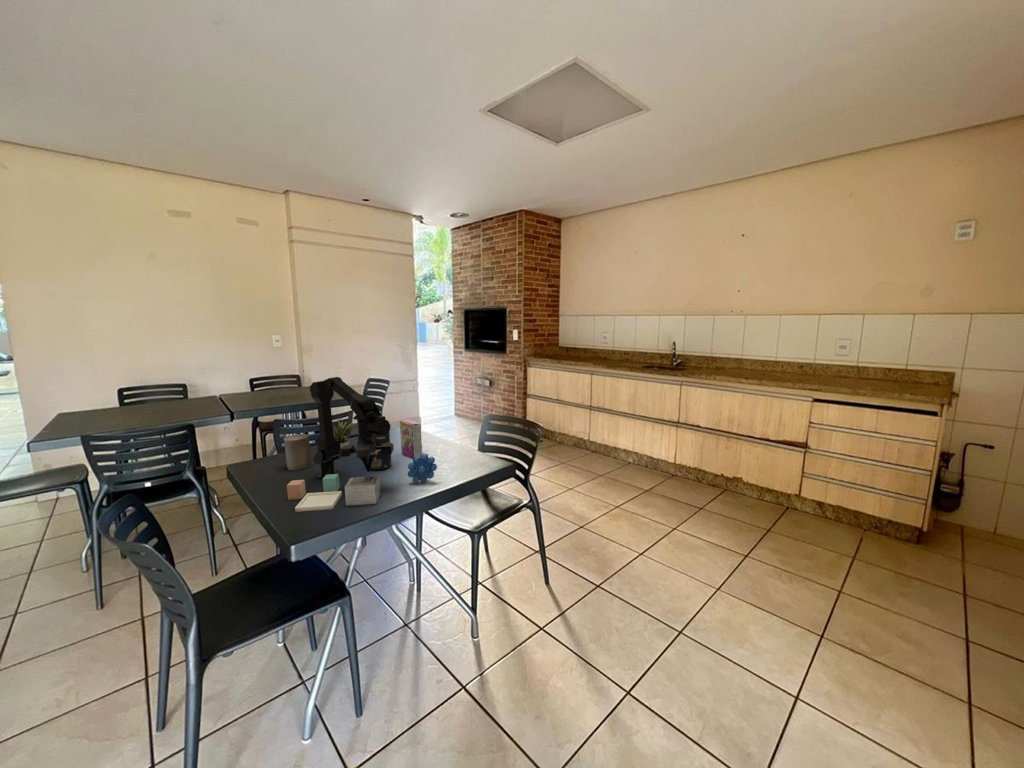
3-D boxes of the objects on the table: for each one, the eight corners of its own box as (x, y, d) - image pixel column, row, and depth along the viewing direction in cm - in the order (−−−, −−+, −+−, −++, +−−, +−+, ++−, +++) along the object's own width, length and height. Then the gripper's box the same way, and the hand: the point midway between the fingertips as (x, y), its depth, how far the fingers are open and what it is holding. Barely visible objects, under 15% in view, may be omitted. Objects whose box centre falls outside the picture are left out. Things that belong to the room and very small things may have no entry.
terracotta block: (293, 494, 152) (291, 480, 151) (305, 493, 152) (304, 479, 152) (288, 499, 147) (286, 485, 147) (301, 498, 148) (300, 484, 147)
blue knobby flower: (439, 478, 165) (438, 449, 163) (436, 485, 159) (435, 455, 157) (410, 479, 165) (408, 450, 163) (406, 485, 158) (404, 456, 156)
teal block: (327, 488, 157) (326, 474, 156) (339, 487, 158) (338, 473, 157) (323, 493, 153) (322, 479, 152) (336, 492, 153) (335, 478, 153)
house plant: (339, 461, 187) (336, 426, 184) (318, 457, 193) (315, 423, 190) (363, 452, 200) (360, 419, 197) (342, 448, 206) (339, 417, 203)
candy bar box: (400, 454, 196) (399, 420, 194) (410, 451, 200) (408, 418, 197) (413, 459, 188) (411, 424, 186) (422, 456, 192) (421, 422, 189)
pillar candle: (316, 463, 185) (312, 431, 183) (303, 470, 175) (299, 437, 173) (295, 463, 186) (292, 431, 184) (281, 470, 176) (278, 437, 174)
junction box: (352, 495, 150) (350, 476, 149) (380, 493, 151) (378, 474, 150) (346, 505, 142) (344, 485, 141) (375, 503, 143) (374, 483, 142)
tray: (307, 496, 149) (307, 493, 149) (342, 494, 151) (341, 491, 151) (295, 511, 138) (294, 508, 138) (332, 509, 139) (332, 505, 139)
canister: (388, 462, 185) (385, 423, 182) (394, 468, 177) (392, 428, 174) (366, 466, 180) (363, 426, 177) (372, 473, 172) (369, 431, 169)
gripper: (333, 439, 145) (337, 481, 147) (388, 436, 147) (390, 477, 149) (342, 430, 155) (345, 469, 158) (392, 428, 158) (395, 466, 160)
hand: (368, 471), depth 156 cm, fingers closed
